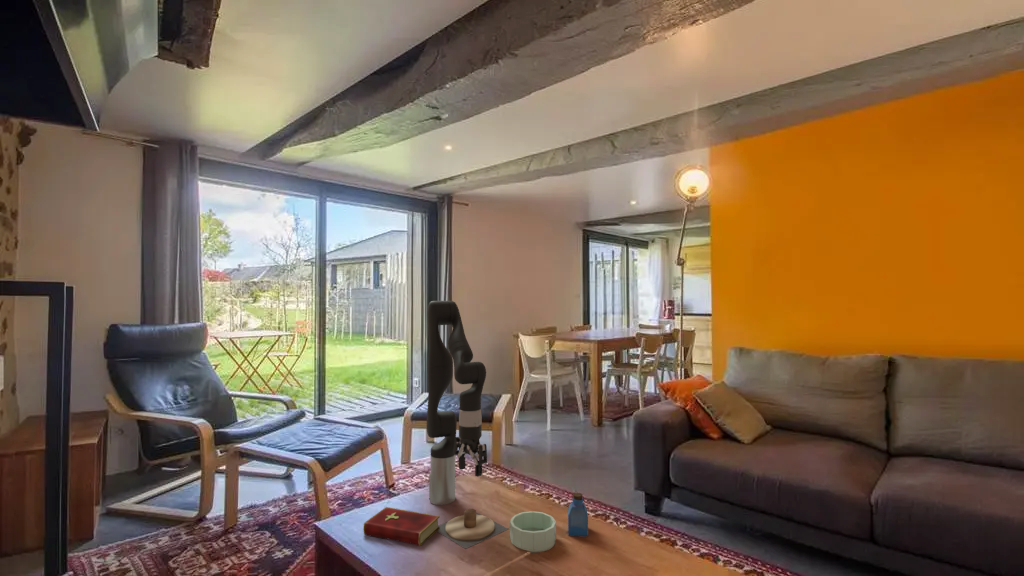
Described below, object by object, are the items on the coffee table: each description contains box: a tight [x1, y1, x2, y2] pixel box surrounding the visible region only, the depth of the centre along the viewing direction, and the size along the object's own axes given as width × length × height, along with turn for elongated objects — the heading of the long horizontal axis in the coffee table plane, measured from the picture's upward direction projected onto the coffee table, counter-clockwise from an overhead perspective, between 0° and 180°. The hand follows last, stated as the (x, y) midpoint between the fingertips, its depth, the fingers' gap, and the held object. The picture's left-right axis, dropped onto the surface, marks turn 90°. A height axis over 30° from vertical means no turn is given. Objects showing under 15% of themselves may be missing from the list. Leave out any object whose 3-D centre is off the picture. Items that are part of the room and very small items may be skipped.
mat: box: [436, 511, 509, 550], centre depth 157 cm, size 18×18×1 cm
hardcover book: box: [363, 506, 440, 547], centre depth 155 cm, size 12×21×4 cm, turn 69°
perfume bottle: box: [567, 492, 589, 537], centre depth 156 cm, size 6×6×12 cm
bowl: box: [509, 510, 557, 554], centre depth 150 cm, size 14×14×6 cm
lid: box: [446, 508, 495, 541], centre depth 157 cm, size 16×16×6 cm
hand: (470, 472), depth 157 cm, fingers open, 8 cm apart
